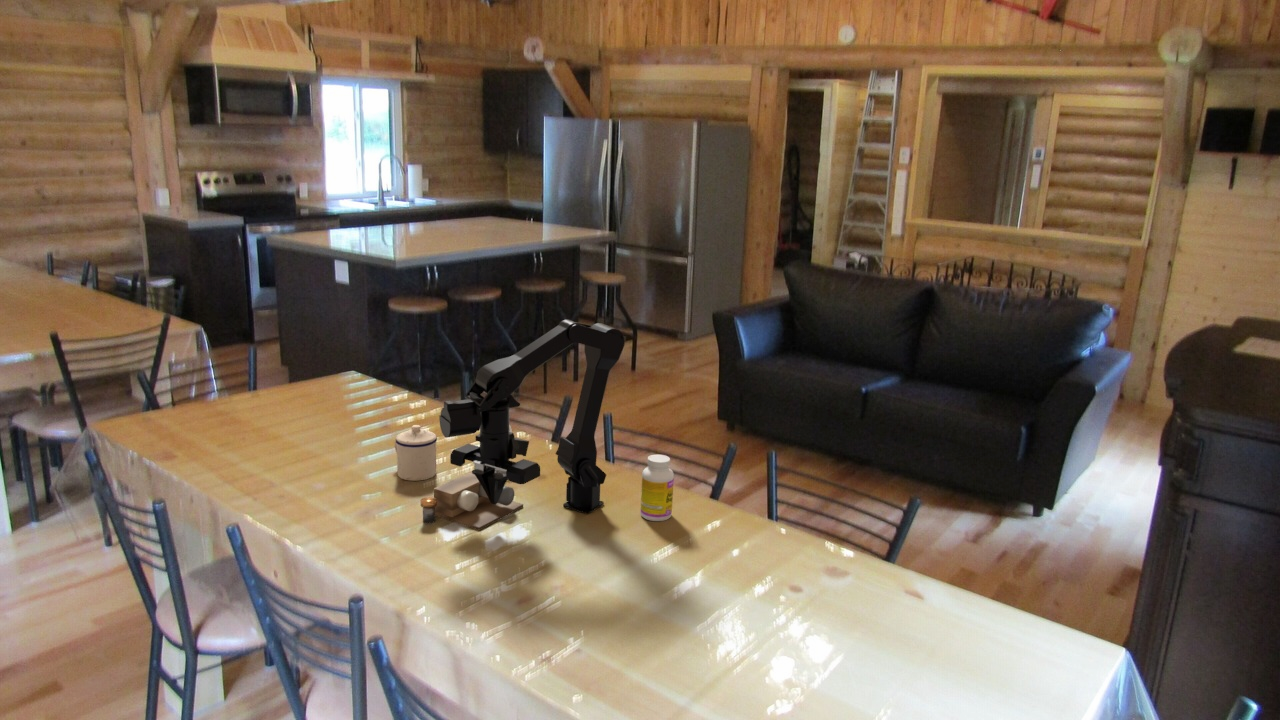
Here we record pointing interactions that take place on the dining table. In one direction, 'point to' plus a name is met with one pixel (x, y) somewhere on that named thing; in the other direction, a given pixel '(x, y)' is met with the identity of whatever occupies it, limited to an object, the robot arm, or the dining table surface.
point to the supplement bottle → (657, 489)
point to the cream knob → (467, 500)
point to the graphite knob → (505, 496)
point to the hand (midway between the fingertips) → (494, 503)
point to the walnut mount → (473, 519)
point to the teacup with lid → (416, 454)
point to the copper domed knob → (428, 509)
